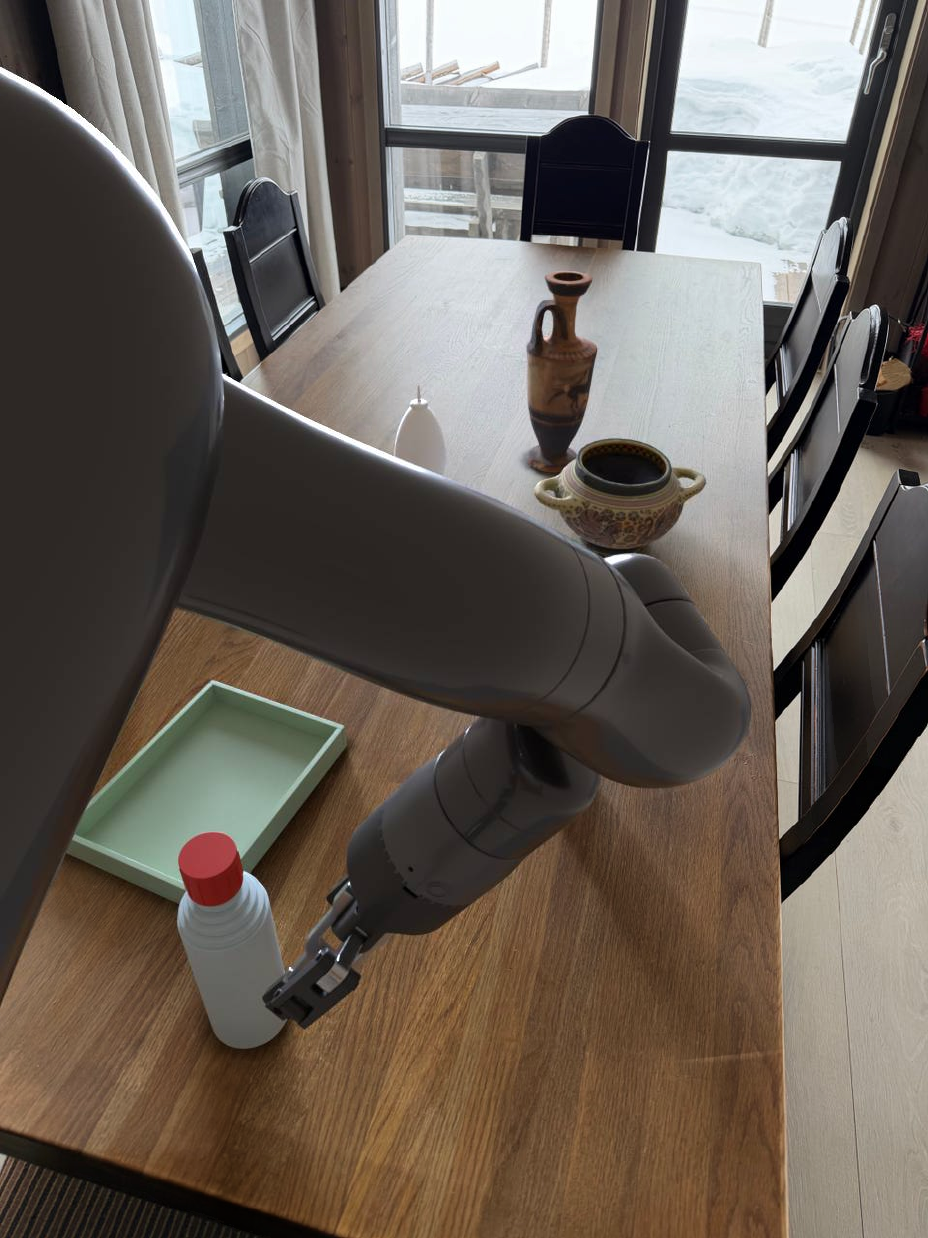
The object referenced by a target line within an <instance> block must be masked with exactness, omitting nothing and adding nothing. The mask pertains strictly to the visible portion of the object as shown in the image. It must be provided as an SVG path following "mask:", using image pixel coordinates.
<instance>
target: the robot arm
mask: <svg viewBox="0 0 928 1238" xmlns="http://www.w3.org/2000/svg"><path fill="white" fill-rule="evenodd" d="M197 269H198V268H197V266H196V264H195V261H194V258H193V255H192V253H191V251H190V249H189V247H188V246H187V244H186V242H185V241H184V239H183V238H182V236H181V234H180V232H179V230H178V228H177V226H176V224H175V223H174V221H173V219H172V217H171V216H170V214H169V212H168V211H167V209H166V208H165V206H164V205H163V203H162V202H161V200H160V198H159V197H158V195H157V194H156V193H155V191H154V190H153V189H152V187H151V186H150V185H149V184H148V182H147V181H146V180H145V178H143V176H142V175H141V174H140V172H139V171H138V170H137V169H136V168H135V167H134V165H133V164H132V163H131V162H130V161H129V159H127V157H126V156H125V155H124V154H122V153H121V151H120V150H119V149H118V148H116V146H115V145H113V143H112V142H111V141H110V140H109V139H108V138H107V137H106V136H105V135H104V134H103V133H101V132H100V131H99V130H98V129H97V128H95V127H94V126H93V125H92V124H91V123H89V122H88V121H87V120H86V119H85V118H83V117H82V116H81V115H80V114H78V113H77V112H76V111H75V110H74V109H72V108H71V107H69V106H68V105H66V104H64V103H63V102H62V101H61V100H59V99H57V98H56V97H54V96H53V95H51V94H50V93H48V92H46V91H45V90H43V89H42V88H41V87H39V86H37V85H35V84H34V83H31V82H30V81H28V80H26V79H23V78H22V77H20V76H18V75H16V74H14V73H13V72H11V71H8V70H6V69H5V68H3V67H0V1007H1V1006H2V1004H3V1002H4V999H5V996H6V994H7V991H8V989H9V986H10V984H11V982H12V979H13V976H14V973H15V971H16V968H17V966H18V963H19V961H20V958H21V957H22V955H23V951H24V949H25V947H26V945H27V942H28V940H29V938H30V935H31V933H32V930H33V928H34V926H35V923H36V921H37V919H38V917H39V914H40V912H41V910H42V907H43V905H44V903H45V901H46V899H47V896H48V893H49V891H50V889H51V887H52V885H53V883H54V880H55V879H56V876H57V874H58V872H59V869H60V867H61V865H62V863H63V861H64V859H65V857H66V854H67V853H66V852H67V850H68V848H69V845H70V843H71V841H72V839H73V837H74V834H75V832H76V830H77V828H78V826H79V823H80V821H81V819H82V817H83V815H84V813H85V810H86V808H87V806H88V804H89V802H90V800H91V799H92V798H93V795H94V793H95V790H96V788H97V786H98V784H99V782H100V779H101V777H102V775H103V774H104V771H105V769H106V766H107V764H108V762H109V760H110V757H111V756H112V753H113V751H114V749H115V746H116V745H117V742H118V740H119V738H120V735H121V733H122V731H123V729H124V727H125V725H126V722H127V720H128V719H129V718H128V717H129V716H130V714H131V711H132V709H133V707H134V705H135V703H136V701H137V698H138V696H139V694H140V692H141V690H142V688H143V685H144V683H145V681H146V679H147V676H148V674H149V672H150V670H151V668H152V665H153V663H154V661H155V659H156V656H157V654H158V652H159V649H160V646H161V644H162V642H163V639H164V637H165V634H166V632H167V630H168V627H169V625H170V622H171V621H172V617H173V615H174V613H175V611H176V610H179V611H183V612H185V613H188V614H192V615H196V616H199V617H201V618H204V619H208V620H211V621H214V622H218V623H220V624H223V625H226V626H228V627H231V628H234V629H236V630H240V631H242V632H245V633H247V634H250V635H253V636H255V637H258V638H261V639H264V640H266V641H269V642H271V643H273V644H275V645H278V646H281V647H283V648H285V649H288V650H291V651H293V652H295V653H298V654H300V655H303V656H306V657H308V658H310V659H313V660H315V661H317V662H320V663H322V664H325V665H326V666H330V667H331V668H334V669H337V670H339V671H341V672H344V673H345V674H349V675H351V676H354V677H356V678H359V679H361V680H364V681H366V682H369V683H371V684H374V685H377V686H378V687H381V688H384V689H387V690H388V691H391V692H394V693H396V694H399V695H401V696H405V697H407V698H410V699H412V700H416V701H418V702H422V703H424V704H427V705H430V706H433V707H437V708H440V709H444V710H448V711H451V712H456V713H460V714H463V715H470V716H474V717H478V718H477V719H475V720H474V722H472V723H471V724H470V725H469V726H468V727H467V728H466V729H465V730H464V731H463V732H462V733H460V735H458V737H456V738H455V740H453V742H451V743H450V744H449V745H448V746H447V747H446V748H445V749H444V750H443V751H442V752H440V753H439V754H438V755H436V756H435V757H433V758H431V759H429V760H428V761H427V762H426V763H424V764H423V765H421V766H420V767H419V768H418V769H417V770H415V771H414V772H413V773H412V774H411V775H410V776H409V777H408V778H407V779H406V780H405V781H404V782H403V783H401V785H399V786H398V788H397V789H395V790H394V791H393V792H392V793H391V794H390V795H389V796H388V797H387V798H386V799H385V800H384V801H383V802H382V803H381V804H380V805H379V806H378V807H377V808H376V809H374V810H373V812H372V813H370V814H369V815H368V817H366V818H365V819H364V820H363V821H362V822H361V823H360V824H359V825H358V826H357V828H356V829H355V830H354V831H353V832H352V835H351V837H350V839H349V842H348V846H347V849H346V855H345V864H346V873H347V874H346V875H345V876H344V877H343V878H342V879H340V881H339V882H338V883H337V884H335V885H334V886H333V887H332V888H331V889H330V891H329V893H328V894H327V895H326V897H325V898H326V902H327V903H328V904H329V905H330V906H331V907H330V908H329V910H327V911H326V912H325V914H324V915H323V917H322V918H321V919H320V920H319V921H318V922H317V924H315V926H314V927H313V928H312V929H311V931H310V932H309V933H308V935H307V936H306V939H305V943H304V952H303V953H302V954H301V956H300V957H299V958H298V959H297V960H296V962H295V963H294V964H293V965H292V966H291V967H289V968H287V970H286V971H285V974H284V975H282V976H281V977H280V978H279V979H278V980H277V981H275V982H274V983H273V984H272V985H271V986H270V987H268V989H267V990H266V992H265V994H264V995H263V997H262V1000H263V1002H264V1003H265V1004H266V1005H265V1007H266V1008H267V1009H269V1010H270V1011H271V1012H272V1013H273V1014H275V1015H276V1016H277V1017H278V1018H280V1019H281V1020H282V1021H284V1020H285V1019H287V1020H290V1019H292V1020H293V1021H294V1022H295V1023H296V1024H297V1025H298V1026H299V1027H300V1028H301V1029H303V1030H304V1031H306V1029H309V1027H311V1026H312V1025H313V1024H314V1023H315V1022H316V1021H318V1020H319V1019H320V1018H321V1017H323V1016H324V1015H325V1014H326V1013H327V1012H329V1011H330V1010H332V1009H333V1008H334V1007H335V1006H336V1005H337V1004H339V1003H340V1002H341V1001H342V1000H344V999H345V998H346V997H348V996H349V995H350V994H351V993H352V992H354V991H356V990H357V988H358V986H359V984H360V980H361V979H362V974H360V973H359V972H358V971H359V970H360V968H361V967H362V966H363V965H364V963H365V962H366V961H367V960H368V959H369V958H370V956H371V955H372V954H373V953H374V952H375V950H376V949H378V948H383V946H385V945H386V944H387V942H388V941H389V940H390V939H391V938H392V936H394V935H403V936H425V935H427V934H431V933H434V932H435V931H437V930H439V929H440V928H442V927H443V926H444V925H446V924H447V923H448V922H450V921H451V920H453V919H454V918H455V917H456V916H458V915H459V914H460V913H462V912H464V911H465V910H466V909H467V908H469V907H470V906H471V905H472V904H474V903H475V902H477V901H478V900H479V899H480V898H482V897H483V896H485V895H486V894H487V893H488V892H490V891H491V890H492V889H493V888H495V887H496V886H498V885H499V884H500V883H502V882H503V881H504V880H506V879H507V878H508V877H509V876H510V875H512V873H513V872H514V871H515V870H516V869H517V868H518V867H519V866H520V864H521V863H522V862H524V860H525V859H526V858H527V857H528V856H530V855H531V854H532V853H533V852H534V851H536V850H537V849H539V848H540V847H541V846H542V845H544V844H545V843H546V842H548V841H550V839H552V838H553V837H555V835H557V834H559V833H560V832H561V831H563V830H564V829H565V828H567V827H568V826H569V825H570V824H572V823H574V822H575V821H576V820H577V819H579V817H581V816H582V814H584V813H585V812H586V811H587V810H588V809H589V808H590V807H591V805H592V803H593V802H594V800H595V799H596V796H597V794H598V791H599V785H600V776H601V777H603V778H605V779H607V780H609V781H612V782H615V783H618V784H621V785H623V786H628V787H633V788H638V789H649V790H650V789H651V790H654V789H670V788H676V787H681V786H686V785H688V784H691V783H694V782H698V781H700V780H703V779H704V778H706V777H708V776H710V775H712V774H714V773H716V771H718V770H720V769H721V768H722V767H723V766H724V765H726V764H727V763H728V762H729V761H730V760H731V759H732V758H733V757H734V755H736V753H737V752H738V751H739V749H740V748H741V746H742V744H743V742H744V741H745V738H746V737H747V735H748V731H749V728H750V724H751V719H752V702H751V697H750V693H749V689H748V687H747V684H746V682H745V680H744V678H743V676H742V675H741V673H740V671H739V670H738V668H737V667H736V665H735V663H734V661H732V659H731V658H730V656H729V654H728V653H727V651H726V650H725V649H724V647H723V645H722V644H721V642H720V640H719V639H718V638H717V636H716V635H715V633H714V631H713V630H712V628H711V626H710V625H709V624H708V622H707V620H706V619H705V618H704V616H703V614H702V613H701V611H700V610H699V608H698V607H697V606H696V603H695V601H694V600H693V598H692V597H691V596H690V594H689V592H688V591H687V589H686V588H685V586H684V585H683V583H682V582H681V579H679V576H677V575H676V574H675V572H673V570H672V569H671V568H670V567H669V566H668V565H667V564H665V563H664V562H663V561H661V560H660V559H658V558H656V557H654V556H651V555H648V554H643V553H637V552H636V553H629V554H618V555H614V556H606V557H603V556H601V554H599V553H597V552H594V551H592V550H590V549H589V548H587V547H586V546H585V545H583V544H582V543H580V542H578V541H577V540H575V539H572V538H571V537H569V536H568V535H566V534H564V533H562V532H561V531H558V530H557V529H555V528H553V527H552V526H549V525H548V524H546V523H545V522H542V521H541V520H539V519H537V518H535V517H533V516H531V515H529V514H527V513H525V512H523V511H521V510H519V509H517V508H515V507H513V506H512V505H510V504H508V503H505V502H503V501H501V500H499V499H498V498H495V497H493V496H490V495H488V494H486V493H483V492H482V491H479V490H477V489H475V488H473V487H470V486H467V485H465V484H462V483H460V482H458V481H456V480H454V479H451V478H448V477H445V475H444V476H441V475H439V474H436V473H434V472H431V471H429V470H426V469H424V468H422V467H419V466H417V465H414V464H412V463H409V462H407V461H404V460H402V459H399V458H397V457H394V455H391V454H389V453H387V452H385V451H383V450H380V449H378V448H375V447H372V446H371V445H368V444H365V443H364V442H361V441H358V440H357V439H354V438H352V437H349V436H347V435H344V434H342V433H340V432H338V431H336V430H333V429H331V428H330V427H327V426H325V425H322V424H320V423H318V422H315V421H314V420H312V419H309V418H307V417H305V416H303V415H301V414H299V413H298V412H295V411H294V410H291V409H289V408H287V407H285V406H284V405H281V404H279V403H277V402H275V401H273V400H272V399H270V398H268V397H266V396H264V395H262V394H260V393H258V392H256V391H255V390H252V389H251V388H249V387H247V386H245V385H244V384H242V383H240V382H239V381H236V380H234V379H233V378H231V377H229V376H228V375H226V374H224V373H223V366H222V356H221V349H220V345H219V340H218V335H217V332H216V331H217V330H216V326H215V321H214V315H213V310H212V307H211V305H210V302H209V300H208V297H207V294H206V291H205V288H204V286H203V283H202V279H201V278H200V275H199V272H198V270H197ZM329 929H331V932H332V934H333V935H334V936H335V937H336V938H337V939H338V940H339V941H340V945H338V947H337V948H336V949H335V948H334V947H333V946H331V945H330V944H329V942H327V941H326V940H324V937H323V936H324V935H325V933H326V932H327V931H328V930H329Z"/></svg>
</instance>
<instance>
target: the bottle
mask: <svg viewBox="0 0 928 1238" xmlns="http://www.w3.org/2000/svg"><path fill="white" fill-rule="evenodd" d="M243 872H244V871H243ZM178 905H179V906H178V910H177V917H176V925H177V930H178V933H179V936H180V939H181V942H182V945H183V948H184V950H185V954H186V956H187V959H188V962H189V965H190V968H191V971H192V973H193V977H194V979H195V983H196V986H197V988H198V991H199V994H200V997H201V999H202V1002H203V1005H204V1006H203V1007H204V1009H205V1011H206V1014H207V1017H208V1021H209V1023H210V1026H211V1029H212V1031H213V1033H214V1034H215V1036H216V1037H217V1039H218V1040H219V1041H220V1042H222V1043H223V1044H225V1045H226V1046H228V1047H230V1048H234V1049H240V1050H241V1049H242V1050H244V1049H245V1050H247V1049H254V1048H257V1047H260V1046H262V1045H264V1044H266V1043H268V1042H269V1041H271V1040H272V1039H273V1038H276V1036H277V1035H278V1034H279V1033H280V1032H281V1031H282V1029H283V1028H284V1027H285V1024H286V1023H287V1021H288V1019H285V1020H284V1021H282V1020H281V1019H280V1018H278V1017H277V1016H276V1015H275V1014H273V1013H272V1012H271V1011H270V1010H269V1009H267V1008H266V1007H265V1005H266V1004H265V1003H264V1002H263V1000H262V997H263V995H264V994H265V992H266V990H267V989H268V987H270V986H271V985H272V984H273V983H274V982H275V981H277V980H278V979H279V978H280V977H281V976H282V975H284V974H285V973H286V971H285V965H284V962H283V957H282V953H281V949H280V944H279V939H278V934H277V930H276V925H275V921H274V916H273V913H272V908H271V903H270V898H269V894H268V892H267V890H266V888H265V887H264V886H263V884H262V883H261V882H260V881H259V880H258V879H257V878H256V877H255V876H254V875H252V874H251V873H250V874H249V873H247V872H244V873H243V884H242V886H241V888H240V890H239V892H238V893H237V894H236V895H235V896H234V897H233V898H232V899H230V900H229V901H227V902H225V903H223V904H221V905H217V906H202V905H199V904H197V903H195V902H194V901H192V900H191V898H190V897H189V895H188V893H187V891H186V893H185V894H184V896H183V897H182V900H181V902H180V904H178Z"/></svg>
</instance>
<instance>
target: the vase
mask: <svg viewBox="0 0 928 1238" xmlns="http://www.w3.org/2000/svg"><path fill="white" fill-rule="evenodd" d="M544 280H545V283H546V286H547V289H548V291H549V292H550V293H551V295H552V297H553V298H552V299H543V300H542V301H540V303H539V304H538V305H537V307H536V309H535V314H534V319H533V322H532V326H531V327H532V328H531V335H530V338H529V339H530V340H529V341H528V342H527V344H526V345H525V347H526V399H527V409H528V414H529V420H530V424H531V428H532V430H533V433H534V435H535V437H536V440H537V443H538V444H537V445H535V446H533V447H532V448H531V449H529V451H528V452H527V454H526V455H527V456H526V461H527V463H528V465H529V466H530V467H531V468H534V469H537V470H539V471H541V472H546V473H561V472H562V470H563V469H564V468H565V467H566V466H567V465H568V464H569V463H570V462H572V461H573V460H575V459H576V457H577V454H578V453H576V451H575V450H574V449H572V448H571V447H570V445H571V444H572V442H573V441H574V439H575V437H576V435H578V432H579V429H580V428H581V425H582V423H583V421H584V417H585V414H586V409H587V407H588V403H589V397H590V391H591V387H592V382H593V381H592V380H593V374H594V370H595V369H594V368H595V363H596V359H597V355H598V347H597V345H596V344H595V342H593V341H591V340H589V339H587V338H585V337H581V336H578V335H577V334H576V317H577V309H578V307H577V306H578V302H579V300H580V298H581V297H582V296H584V295H585V294H586V293H587V292H588V290H589V288H590V286H591V284H592V283H593V277H592V275H590V274H588V273H585V272H581V271H576V270H575V271H574V270H554V271H551V272H548V273H547V274H545V275H544ZM547 311H549V312H551V317H552V328H551V332H550V334H544V333H543V324H544V318H545V315H546V312H547Z"/></svg>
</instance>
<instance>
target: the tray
mask: <svg viewBox="0 0 928 1238" xmlns="http://www.w3.org/2000/svg"><path fill="white" fill-rule="evenodd" d="M346 747H348V743H347V733H346V726H345V725H343V724H340V723H337V722H334V721H332V720H329V719H325V718H323V717H320V716H317V715H314V714H311V713H309V712H305V711H303V710H301V709H300V710H299V709H297V708H294V707H290V706H289V705H285V704H282V703H279V702H276V701H274V700H271V699H268V698H265V697H262V696H259V695H257V694H254V693H250V692H248V691H245V690H242V689H239V688H236V687H234V686H230V685H228V684H224V683H221V682H219V681H216V680H213V679H211V680H210V681H209V682H208V683H207V684H206V685H205V686H204V687H203V688H202V689H201V690H200V691H199V692H198V693H197V694H196V695H195V696H194V697H193V698H192V699H191V700H190V701H189V702H188V703H187V704H186V705H185V706H184V707H183V708H182V709H181V710H180V711H178V713H177V714H175V716H173V718H172V719H170V721H169V722H167V724H165V726H163V727H162V728H161V730H159V732H158V733H156V735H154V737H153V738H152V739H150V740H149V741H148V743H147V744H146V745H144V746H143V747H142V748H141V749H140V750H139V751H138V752H137V753H136V755H134V756H133V757H132V758H131V759H130V760H129V761H128V762H127V763H126V764H125V765H124V766H123V767H122V768H121V769H120V770H119V771H118V772H117V773H116V774H115V775H114V776H113V777H112V778H111V779H110V780H109V781H108V782H107V783H106V784H105V785H104V786H103V787H102V788H101V789H100V790H98V792H97V793H96V794H95V795H94V796H92V797H91V799H90V802H89V804H88V806H87V808H86V810H85V813H84V815H83V817H82V819H81V821H80V823H79V826H78V828H77V830H76V832H75V834H74V837H73V839H72V841H71V843H70V845H69V848H68V850H67V852H66V854H67V855H69V856H72V857H73V858H75V859H79V860H81V861H83V862H85V863H87V864H90V865H92V866H94V867H96V868H98V869H100V870H103V871H105V872H106V873H109V874H111V875H114V876H116V877H118V878H120V879H123V880H124V881H127V882H129V883H131V884H133V885H135V886H138V887H140V888H142V889H144V890H147V891H149V892H151V893H154V894H155V895H158V896H160V897H163V898H165V899H167V900H169V901H171V902H174V903H176V904H177V905H180V902H181V900H182V897H183V896H184V894H185V893H186V891H187V890H186V889H185V886H184V883H183V880H182V877H181V874H180V870H179V864H178V857H179V854H180V851H181V849H182V848H183V846H184V845H185V844H186V843H187V842H188V841H189V840H190V839H192V838H193V837H195V836H197V835H199V834H202V833H206V832H221V833H224V834H226V835H228V836H230V837H231V838H232V839H233V840H234V842H235V844H236V847H237V851H239V855H240V860H241V864H242V868H243V871H244V872H247V873H249V874H251V873H252V871H254V869H255V867H256V866H257V865H258V863H259V862H260V861H261V859H262V858H263V857H264V856H265V854H266V853H267V851H269V849H270V847H272V845H273V844H274V842H275V841H276V840H277V838H278V837H279V836H280V835H281V833H282V832H283V831H284V830H285V828H286V827H287V825H288V824H289V823H290V821H291V820H292V818H293V817H294V816H295V815H296V814H297V812H298V811H299V810H300V808H301V807H302V806H303V804H304V803H305V802H306V801H307V799H308V798H309V796H310V795H311V793H312V792H313V791H314V790H315V789H316V787H317V786H318V784H319V783H320V782H321V781H322V779H323V778H324V777H325V775H327V772H328V771H329V770H330V769H331V767H332V766H333V765H334V763H335V762H336V760H337V759H339V757H340V756H341V754H342V753H343V752H344V750H345V749H346Z"/></svg>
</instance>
